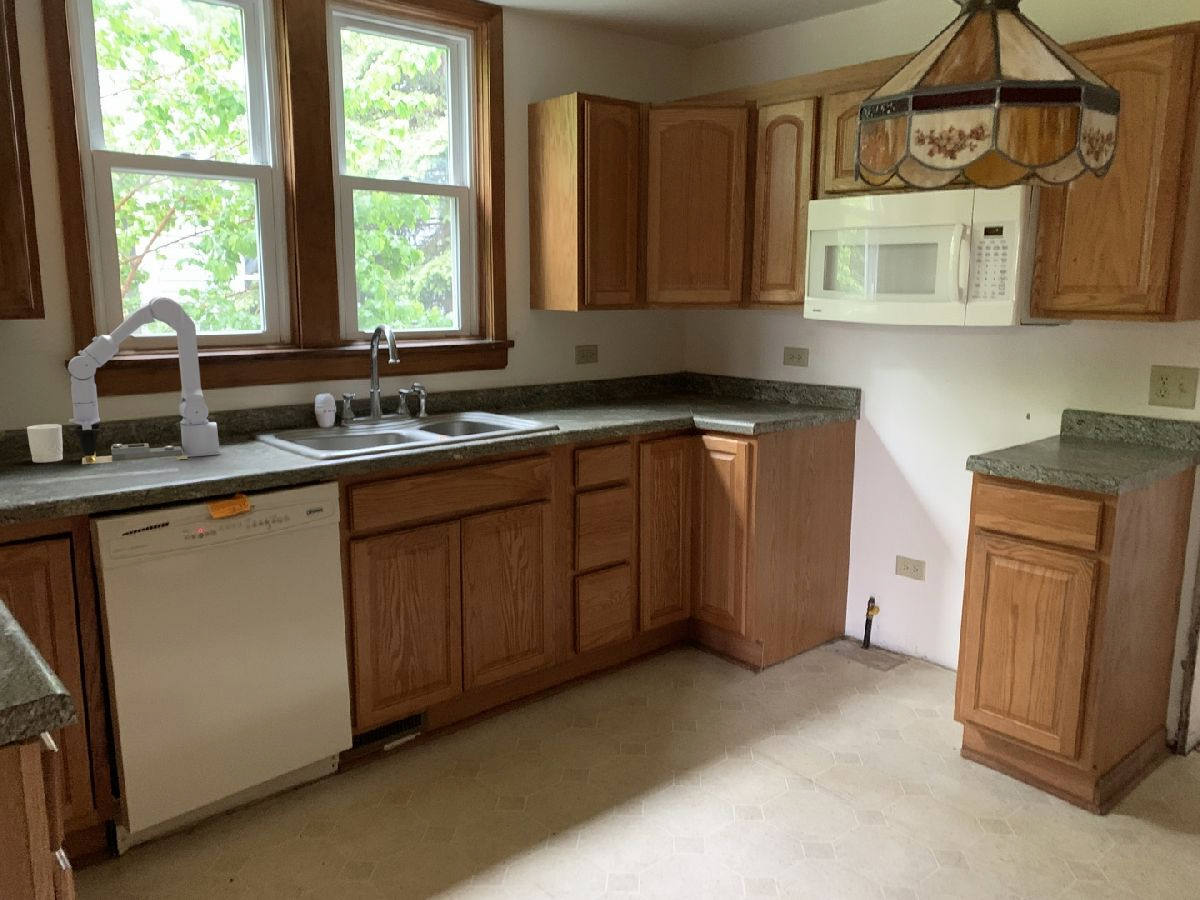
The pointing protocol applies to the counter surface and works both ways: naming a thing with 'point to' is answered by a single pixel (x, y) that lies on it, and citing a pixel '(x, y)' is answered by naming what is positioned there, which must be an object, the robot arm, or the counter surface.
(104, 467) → the counter surface
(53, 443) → the white cup
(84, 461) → the door lock with knob
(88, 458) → the brass knob
